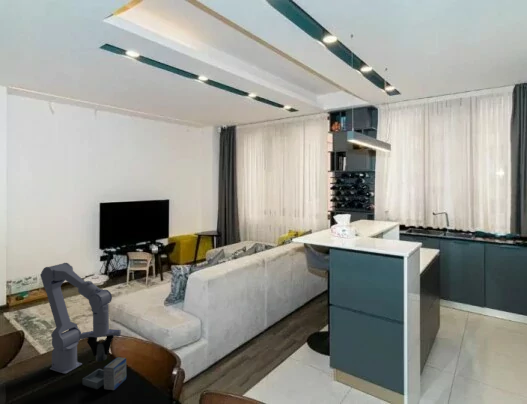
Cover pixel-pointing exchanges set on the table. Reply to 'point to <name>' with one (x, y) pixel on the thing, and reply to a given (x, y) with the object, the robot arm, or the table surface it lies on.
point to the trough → (94, 379)
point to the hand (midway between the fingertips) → (101, 354)
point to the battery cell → (101, 350)
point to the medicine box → (114, 373)
